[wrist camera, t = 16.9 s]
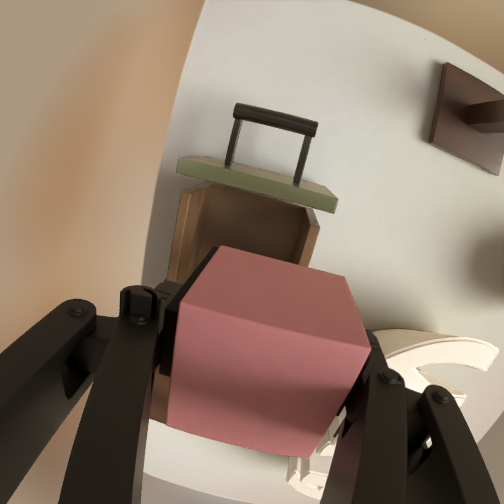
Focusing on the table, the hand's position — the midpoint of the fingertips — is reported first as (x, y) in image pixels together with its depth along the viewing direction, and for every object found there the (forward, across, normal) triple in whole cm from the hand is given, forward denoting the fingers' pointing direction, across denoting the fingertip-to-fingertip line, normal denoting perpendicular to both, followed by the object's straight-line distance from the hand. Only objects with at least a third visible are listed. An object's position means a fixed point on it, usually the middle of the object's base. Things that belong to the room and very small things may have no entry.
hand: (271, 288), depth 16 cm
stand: (+19, +18, +17) cm, 31 cm away
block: (-3, 0, 0) cm, 3 cm away
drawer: (+18, -3, 0) cm, 18 cm away
